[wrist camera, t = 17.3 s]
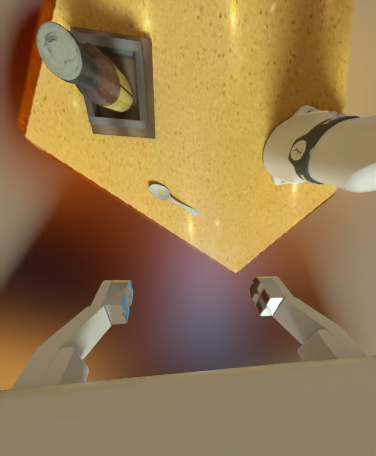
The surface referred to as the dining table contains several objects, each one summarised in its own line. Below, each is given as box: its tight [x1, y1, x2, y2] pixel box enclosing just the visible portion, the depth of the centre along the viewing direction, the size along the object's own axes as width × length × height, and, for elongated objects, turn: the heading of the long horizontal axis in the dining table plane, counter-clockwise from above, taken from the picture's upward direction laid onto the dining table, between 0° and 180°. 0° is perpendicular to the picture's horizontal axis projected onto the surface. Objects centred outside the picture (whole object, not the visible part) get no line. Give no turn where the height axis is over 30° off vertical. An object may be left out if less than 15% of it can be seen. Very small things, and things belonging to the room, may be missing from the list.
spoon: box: [149, 184, 199, 216], centre depth 46 cm, size 4×21×2 cm, turn 55°
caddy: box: [70, 27, 155, 139], centre depth 30 cm, size 14×16×5 cm
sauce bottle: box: [36, 22, 134, 112], centre depth 23 cm, size 7×6×20 cm
